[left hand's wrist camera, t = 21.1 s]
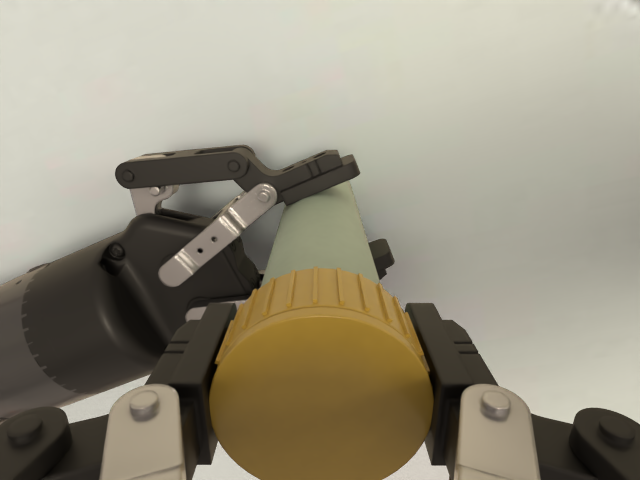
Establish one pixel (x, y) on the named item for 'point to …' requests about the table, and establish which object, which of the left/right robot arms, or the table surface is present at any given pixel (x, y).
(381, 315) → the lid
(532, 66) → the table surface
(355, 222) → the jar
